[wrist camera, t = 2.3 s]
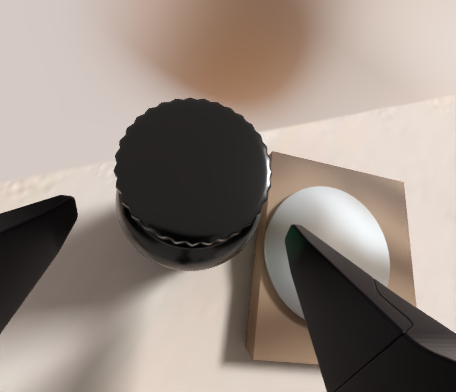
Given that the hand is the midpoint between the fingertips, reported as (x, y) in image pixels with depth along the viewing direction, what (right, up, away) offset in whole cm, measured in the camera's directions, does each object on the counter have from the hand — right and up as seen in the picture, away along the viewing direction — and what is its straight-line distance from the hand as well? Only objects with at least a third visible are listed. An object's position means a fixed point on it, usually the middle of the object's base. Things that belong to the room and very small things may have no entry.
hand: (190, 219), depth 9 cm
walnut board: (+11, -4, +10) cm, 16 cm away
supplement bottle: (-2, -1, +9) cm, 9 cm away
